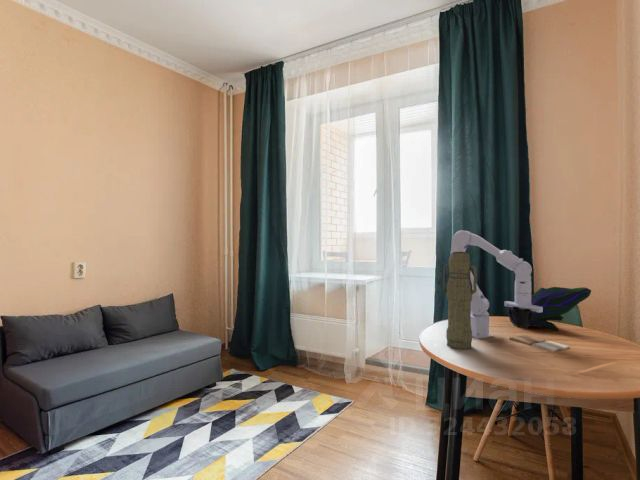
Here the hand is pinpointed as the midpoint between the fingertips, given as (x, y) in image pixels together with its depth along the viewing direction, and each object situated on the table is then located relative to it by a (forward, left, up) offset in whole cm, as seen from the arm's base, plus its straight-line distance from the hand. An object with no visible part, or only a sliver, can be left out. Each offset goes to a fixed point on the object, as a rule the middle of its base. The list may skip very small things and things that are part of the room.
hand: (522, 327), depth 145 cm
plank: (+1, -1, -5) cm, 6 cm away
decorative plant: (+30, +11, -6) cm, 32 cm away
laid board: (+1, -10, -5) cm, 12 cm away
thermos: (-27, +6, -6) cm, 28 cm away
